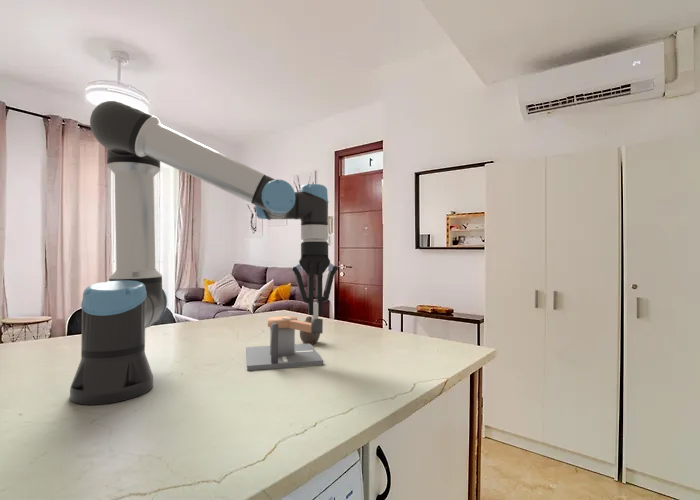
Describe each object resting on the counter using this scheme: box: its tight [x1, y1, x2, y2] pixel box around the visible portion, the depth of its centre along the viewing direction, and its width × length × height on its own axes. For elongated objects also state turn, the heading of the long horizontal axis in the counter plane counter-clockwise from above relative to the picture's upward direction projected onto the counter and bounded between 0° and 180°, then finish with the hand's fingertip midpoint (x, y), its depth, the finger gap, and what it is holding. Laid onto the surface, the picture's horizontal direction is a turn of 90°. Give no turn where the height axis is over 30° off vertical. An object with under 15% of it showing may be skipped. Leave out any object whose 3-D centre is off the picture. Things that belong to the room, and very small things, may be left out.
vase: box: [299, 316, 321, 345], centre depth 128 cm, size 7×7×9 cm
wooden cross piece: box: [267, 315, 324, 335], centre depth 105 cm, size 20×8×4 cm, turn 48°
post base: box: [245, 323, 324, 371], centre depth 109 cm, size 20×20×12 cm
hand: (315, 326), depth 104 cm, fingers closed
